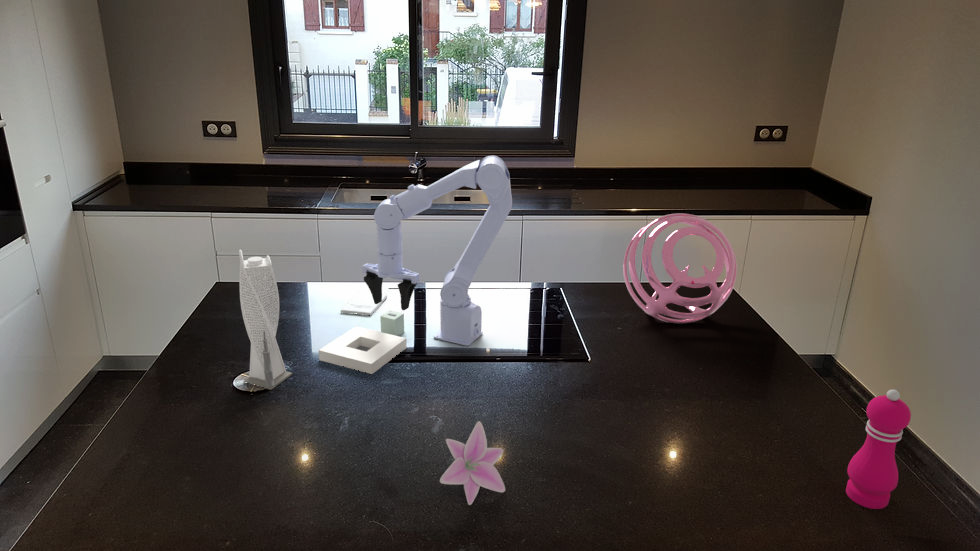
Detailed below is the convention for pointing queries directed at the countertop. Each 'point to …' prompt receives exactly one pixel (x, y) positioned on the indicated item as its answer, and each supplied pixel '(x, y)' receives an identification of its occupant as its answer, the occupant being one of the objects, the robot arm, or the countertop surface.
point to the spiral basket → (680, 277)
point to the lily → (474, 464)
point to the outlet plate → (362, 349)
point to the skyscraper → (261, 321)
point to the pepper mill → (878, 452)
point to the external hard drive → (362, 304)
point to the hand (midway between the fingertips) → (391, 305)
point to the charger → (392, 323)
